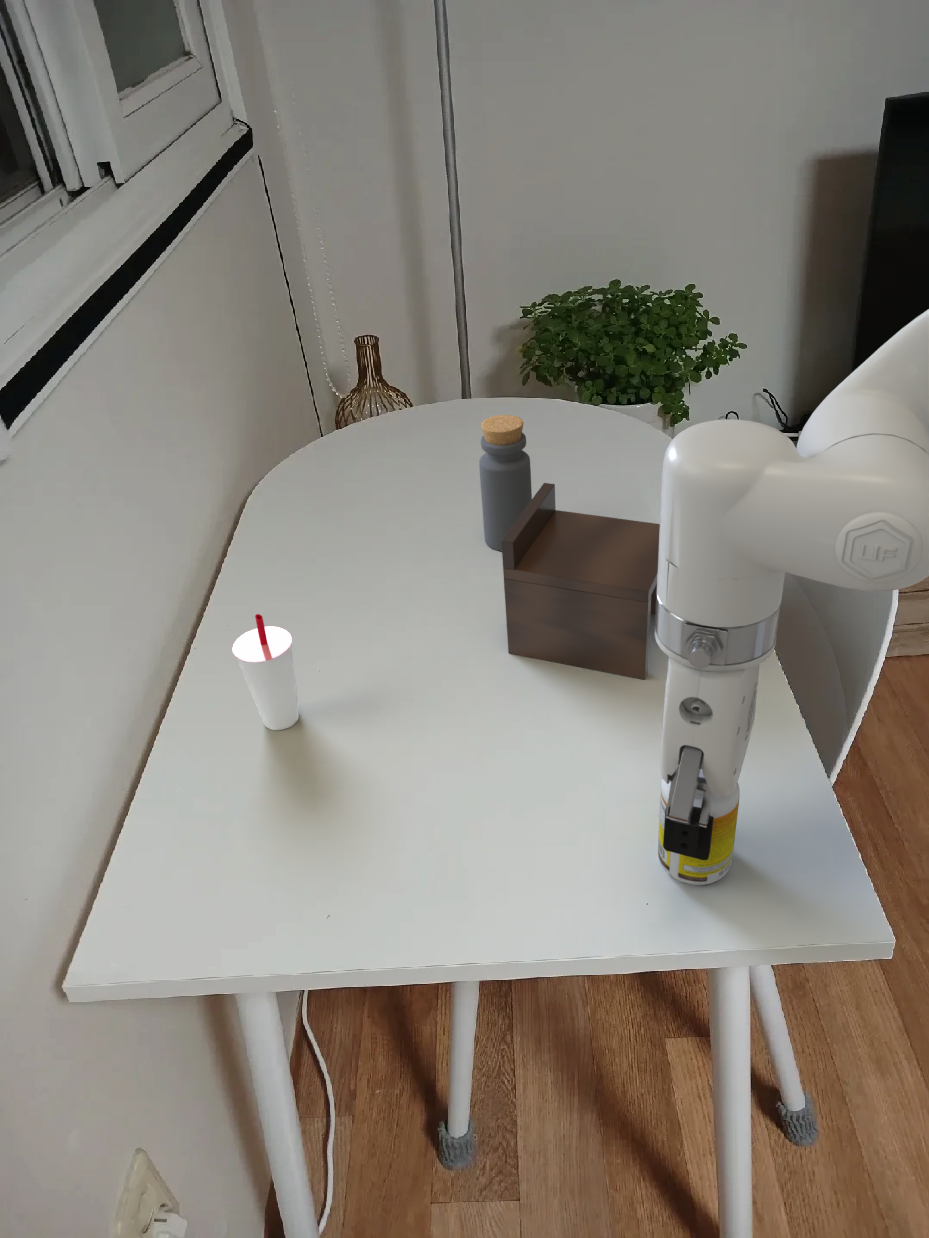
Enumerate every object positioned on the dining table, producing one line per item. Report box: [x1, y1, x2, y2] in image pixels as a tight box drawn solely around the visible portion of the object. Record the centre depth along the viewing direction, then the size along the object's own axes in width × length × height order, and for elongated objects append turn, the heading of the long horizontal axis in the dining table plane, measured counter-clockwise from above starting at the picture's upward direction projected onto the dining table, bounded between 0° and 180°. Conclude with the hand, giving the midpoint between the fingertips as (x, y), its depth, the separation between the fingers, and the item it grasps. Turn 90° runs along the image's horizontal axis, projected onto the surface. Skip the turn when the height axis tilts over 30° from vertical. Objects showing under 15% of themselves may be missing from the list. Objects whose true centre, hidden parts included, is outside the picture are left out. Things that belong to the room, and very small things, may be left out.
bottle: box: [478, 414, 533, 552], centre depth 110 cm, size 6×6×15 cm
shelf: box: [501, 482, 660, 680], centre depth 94 cm, size 14×12×13 cm
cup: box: [231, 613, 300, 731], centre depth 87 cm, size 5×5×12 cm
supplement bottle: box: [657, 769, 741, 886], centre depth 70 cm, size 6×6×10 cm
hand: (698, 812), depth 70 cm, fingers open, 7 cm apart
